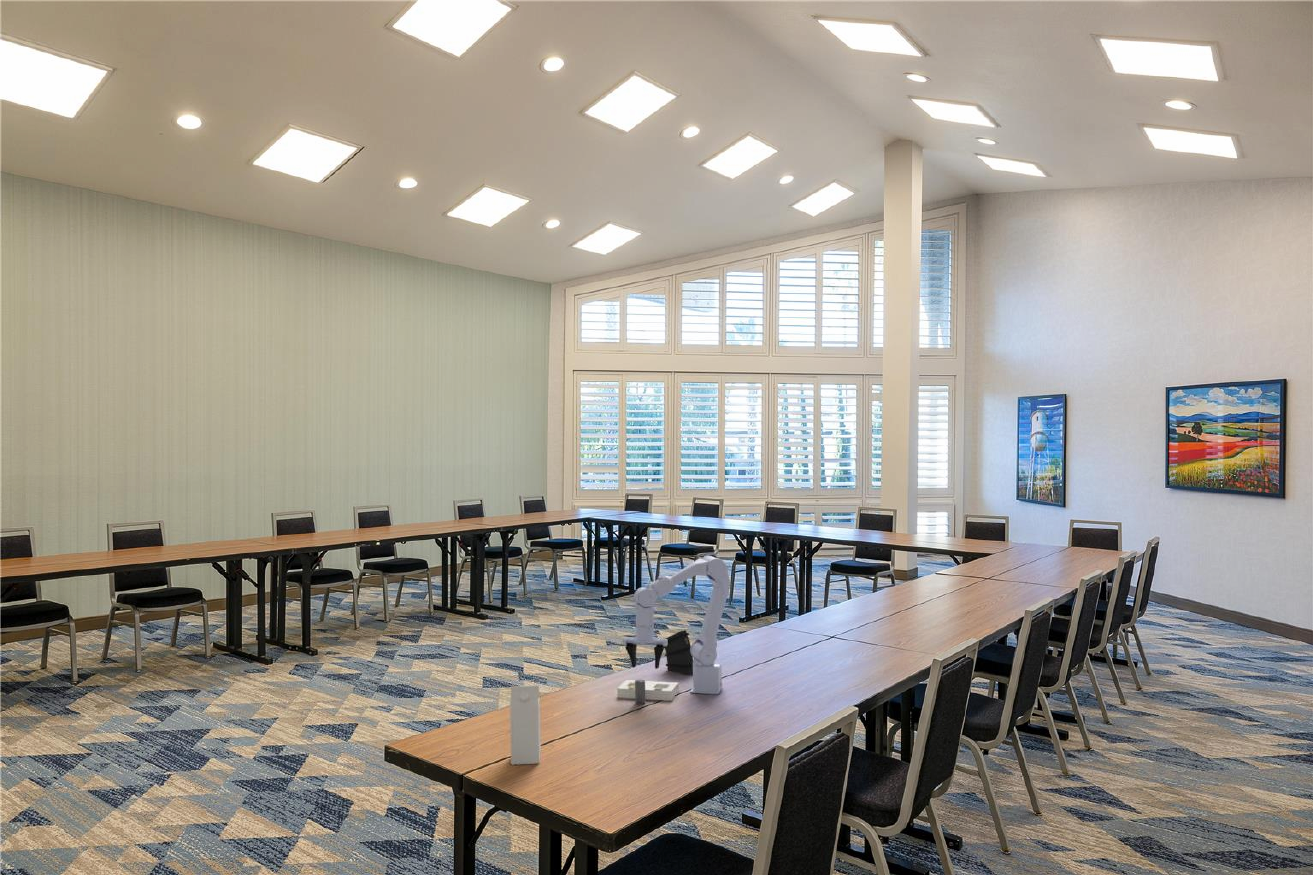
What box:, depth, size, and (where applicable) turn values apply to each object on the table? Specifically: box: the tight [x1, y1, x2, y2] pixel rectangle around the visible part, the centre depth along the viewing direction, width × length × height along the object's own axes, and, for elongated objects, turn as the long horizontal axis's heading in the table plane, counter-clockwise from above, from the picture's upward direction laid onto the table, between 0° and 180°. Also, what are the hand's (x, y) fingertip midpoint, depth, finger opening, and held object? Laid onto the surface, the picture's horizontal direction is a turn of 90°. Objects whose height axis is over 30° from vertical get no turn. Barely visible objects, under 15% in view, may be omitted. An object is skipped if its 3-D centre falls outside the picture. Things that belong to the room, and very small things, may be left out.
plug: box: [634, 679, 646, 706], centre depth 264 cm, size 3×3×7 cm
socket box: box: [616, 679, 680, 701], centre depth 273 cm, size 18×10×3 cm, turn 75°
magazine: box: [664, 629, 694, 676], centre depth 301 cm, size 4×13×15 cm, turn 44°
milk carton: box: [509, 685, 542, 766], centre depth 217 cm, size 7×7×19 cm
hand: (645, 667), depth 271 cm, fingers open, 7 cm apart
